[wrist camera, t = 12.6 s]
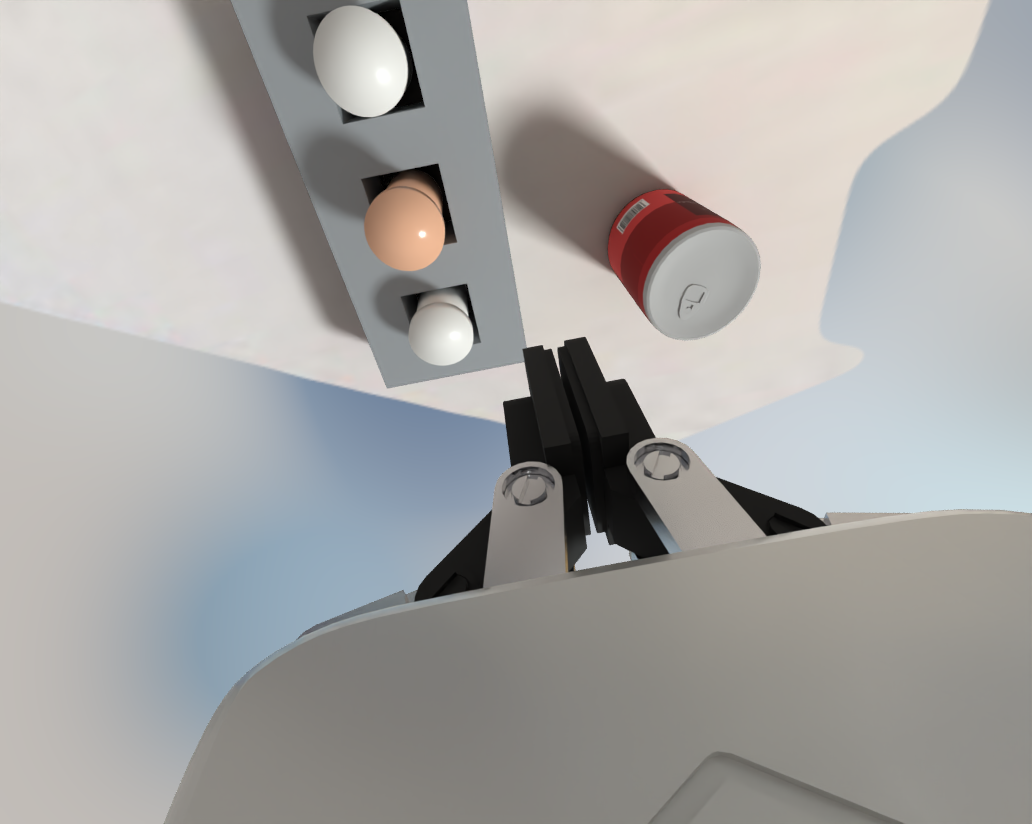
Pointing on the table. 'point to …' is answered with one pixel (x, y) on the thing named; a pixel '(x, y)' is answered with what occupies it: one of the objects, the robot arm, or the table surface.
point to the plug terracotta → (407, 221)
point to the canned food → (683, 264)
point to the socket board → (390, 148)
